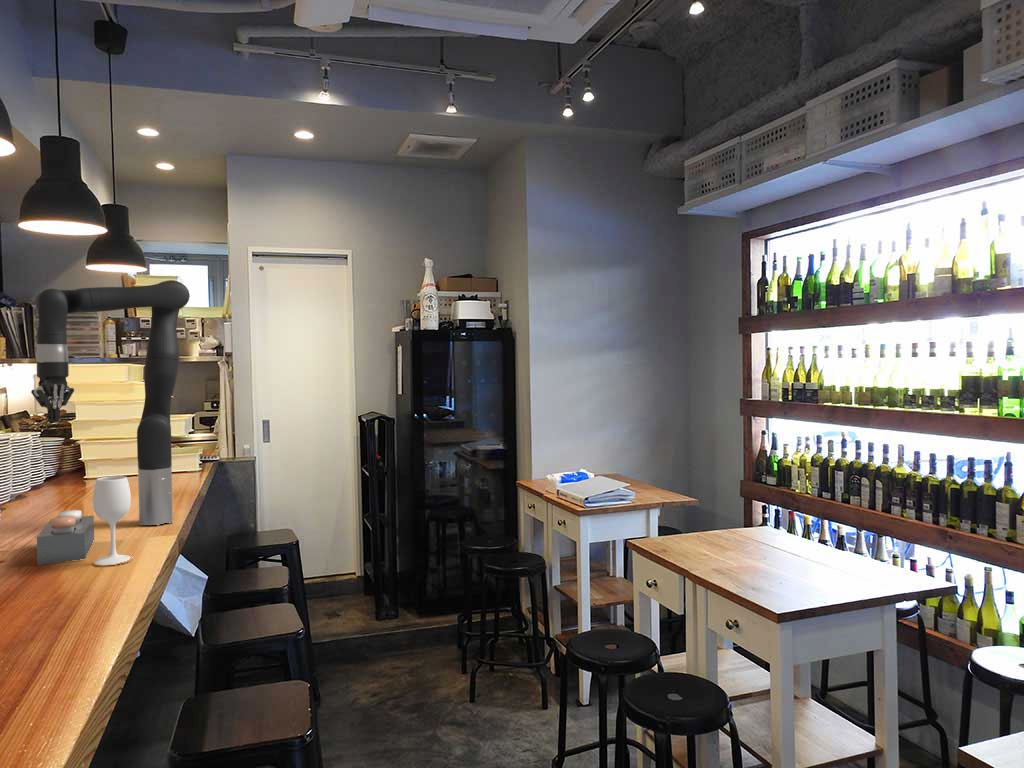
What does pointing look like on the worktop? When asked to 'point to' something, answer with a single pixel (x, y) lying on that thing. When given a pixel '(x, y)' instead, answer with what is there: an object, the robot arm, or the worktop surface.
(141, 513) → the robot arm
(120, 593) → the worktop surface
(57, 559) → the plunger panel
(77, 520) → the white ball knob
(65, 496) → the worktop surface
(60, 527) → the plunger
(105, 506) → the wineglass
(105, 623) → the worktop surface
